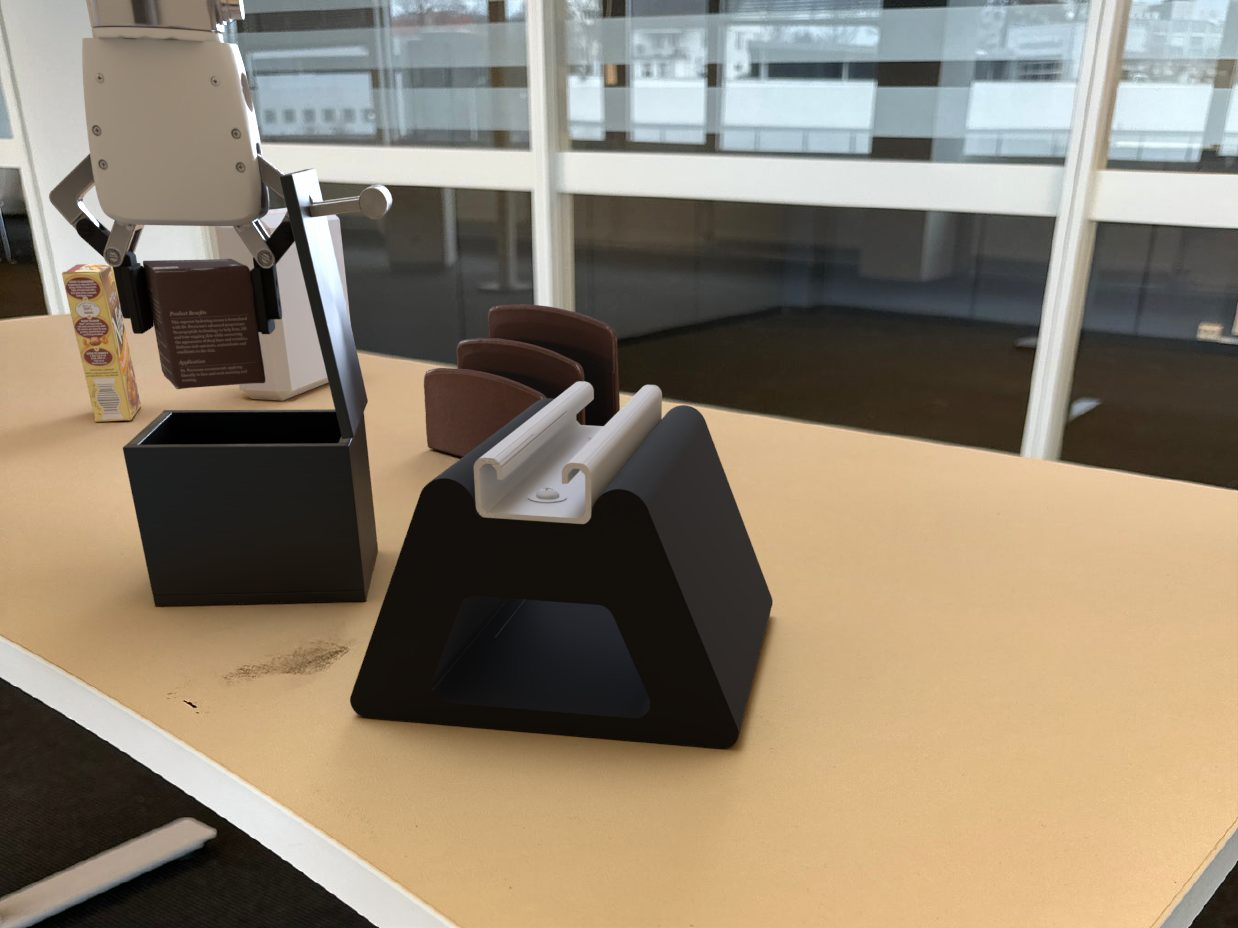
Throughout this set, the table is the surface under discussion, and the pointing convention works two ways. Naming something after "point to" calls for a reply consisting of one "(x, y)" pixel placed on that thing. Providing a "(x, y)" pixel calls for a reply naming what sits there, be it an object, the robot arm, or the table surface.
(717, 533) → the device stand
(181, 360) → the box
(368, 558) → the waste bin
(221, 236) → the bevelled white case
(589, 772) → the table surface
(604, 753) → the table surface
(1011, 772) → the table surface
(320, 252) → the bin lid
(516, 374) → the letter holder
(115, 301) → the candy box
